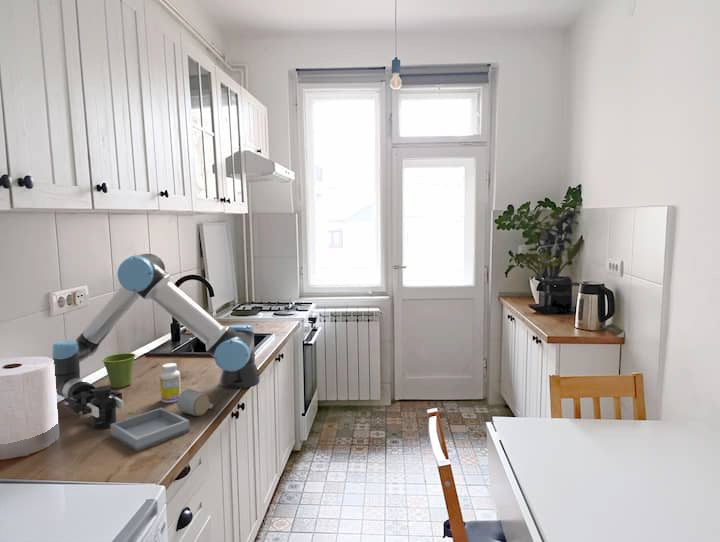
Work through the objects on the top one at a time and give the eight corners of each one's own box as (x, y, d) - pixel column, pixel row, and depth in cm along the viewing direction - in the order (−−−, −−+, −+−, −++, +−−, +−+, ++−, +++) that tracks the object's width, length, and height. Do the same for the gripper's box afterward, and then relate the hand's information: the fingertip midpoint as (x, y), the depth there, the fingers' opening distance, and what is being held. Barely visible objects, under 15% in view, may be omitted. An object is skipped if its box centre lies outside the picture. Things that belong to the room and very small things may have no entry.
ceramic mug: (194, 420, 150) (194, 396, 149) (176, 415, 154) (176, 392, 153) (219, 409, 159) (218, 387, 158) (201, 404, 163) (201, 383, 162)
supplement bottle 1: (98, 420, 150) (96, 384, 148) (120, 420, 150) (118, 383, 149) (87, 430, 143) (85, 392, 141) (111, 429, 143) (109, 391, 142)
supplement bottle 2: (166, 396, 170) (164, 362, 169) (184, 396, 170) (182, 362, 169) (157, 403, 164) (155, 367, 162) (176, 403, 163) (174, 368, 162)
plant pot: (131, 378, 191) (129, 351, 190) (142, 385, 182) (140, 356, 181) (99, 385, 183) (97, 357, 181) (109, 393, 174) (107, 363, 173)
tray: (162, 417, 152) (161, 407, 151) (189, 431, 142) (189, 420, 141) (110, 435, 139) (110, 424, 139) (137, 451, 129) (136, 439, 129)
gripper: (110, 394, 165) (142, 410, 150) (47, 412, 150) (76, 432, 135) (109, 373, 164) (141, 388, 150) (45, 389, 149) (74, 407, 135)
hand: (110, 409), depth 143 cm, fingers closed on supplement bottle 1, 7 cm apart
